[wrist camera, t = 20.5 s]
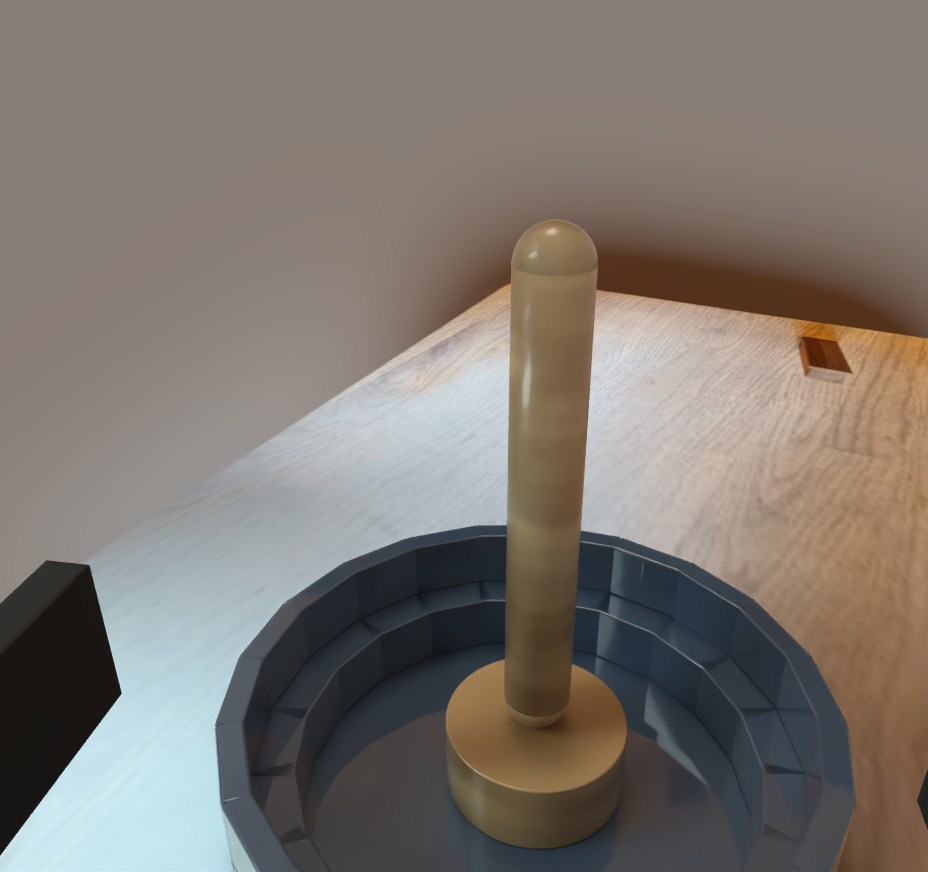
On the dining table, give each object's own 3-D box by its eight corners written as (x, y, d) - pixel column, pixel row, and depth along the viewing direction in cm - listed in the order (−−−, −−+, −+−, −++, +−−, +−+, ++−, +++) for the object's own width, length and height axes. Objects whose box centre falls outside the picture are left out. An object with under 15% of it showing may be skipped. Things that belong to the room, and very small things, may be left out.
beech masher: (426, 730, 29) (406, 205, 21) (577, 693, 30) (611, 190, 22) (479, 873, 24) (479, 261, 16) (654, 820, 25) (733, 237, 17)
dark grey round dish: (222, 682, 32) (203, 574, 30) (637, 592, 37) (647, 493, 34) (274, 1271, 17) (243, 1143, 15) (966, 990, 22) (1022, 860, 19)
